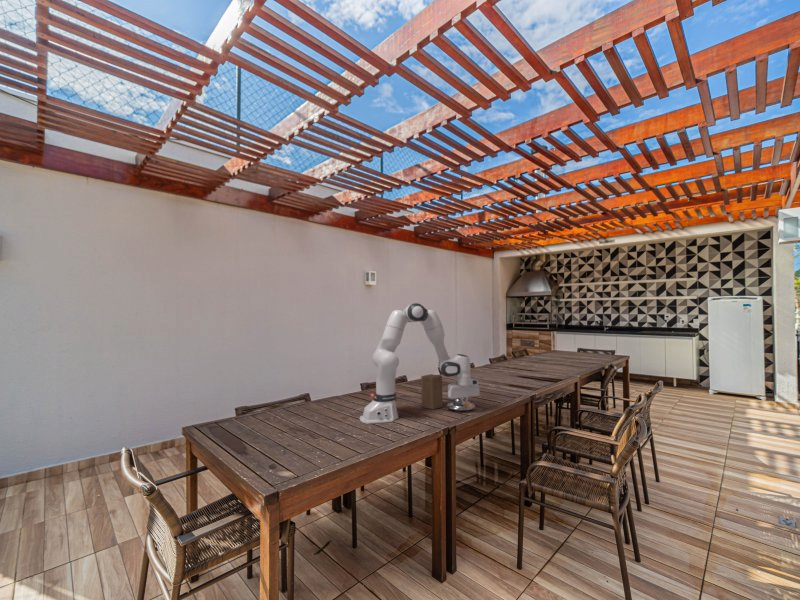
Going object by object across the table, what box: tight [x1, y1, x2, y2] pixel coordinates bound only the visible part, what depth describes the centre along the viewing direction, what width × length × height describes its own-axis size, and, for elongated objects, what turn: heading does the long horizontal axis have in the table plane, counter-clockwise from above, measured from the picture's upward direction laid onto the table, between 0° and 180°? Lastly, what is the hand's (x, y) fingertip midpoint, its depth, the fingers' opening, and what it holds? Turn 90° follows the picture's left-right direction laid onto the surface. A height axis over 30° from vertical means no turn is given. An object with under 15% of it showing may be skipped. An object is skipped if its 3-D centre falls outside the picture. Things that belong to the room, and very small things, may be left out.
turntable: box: [446, 400, 476, 411], centre depth 224 cm, size 17×17×6 cm
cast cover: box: [452, 397, 465, 406], centre depth 223 cm, size 8×8×5 cm
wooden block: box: [420, 373, 444, 411], centre depth 230 cm, size 10×10×20 cm
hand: (464, 404), depth 216 cm, fingers closed
